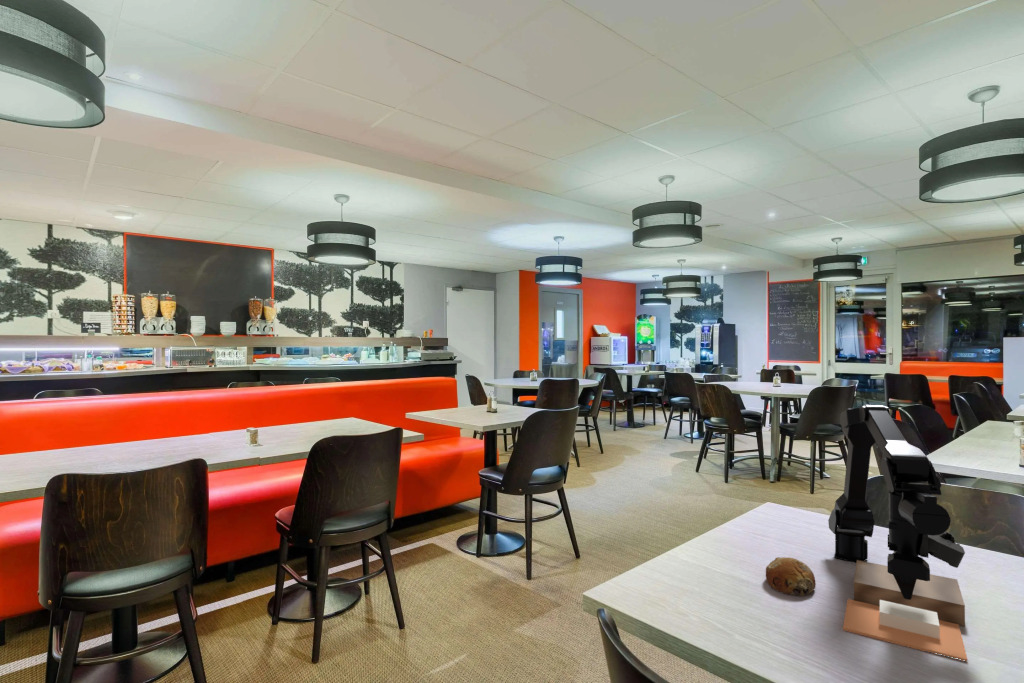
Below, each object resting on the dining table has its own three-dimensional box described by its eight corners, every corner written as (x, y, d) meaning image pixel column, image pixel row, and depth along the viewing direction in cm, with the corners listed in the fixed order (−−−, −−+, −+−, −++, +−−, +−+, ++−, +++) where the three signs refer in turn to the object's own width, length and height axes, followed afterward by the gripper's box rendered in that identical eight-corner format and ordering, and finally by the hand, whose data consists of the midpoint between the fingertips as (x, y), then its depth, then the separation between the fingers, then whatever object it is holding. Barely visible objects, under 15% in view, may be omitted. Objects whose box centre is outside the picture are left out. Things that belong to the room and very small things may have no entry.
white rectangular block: (879, 599, 107) (879, 611, 107) (879, 611, 102) (879, 624, 102) (936, 612, 102) (936, 625, 102) (939, 625, 97) (939, 639, 97)
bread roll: (814, 601, 120) (812, 563, 124) (818, 599, 112) (816, 558, 115) (765, 592, 125) (765, 556, 128) (766, 590, 116) (765, 551, 119)
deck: (853, 600, 113) (853, 581, 113) (856, 577, 124) (856, 560, 124) (964, 626, 103) (964, 605, 103) (957, 598, 114) (957, 579, 114)
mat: (843, 630, 101) (843, 627, 101) (847, 601, 113) (847, 598, 113) (967, 662, 91) (967, 659, 91) (958, 627, 102) (958, 624, 102)
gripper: (966, 540, 92) (967, 632, 91) (955, 513, 107) (956, 591, 107) (887, 528, 98) (887, 613, 98) (887, 503, 113) (888, 577, 113)
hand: (907, 598), depth 104 cm, fingers closed
